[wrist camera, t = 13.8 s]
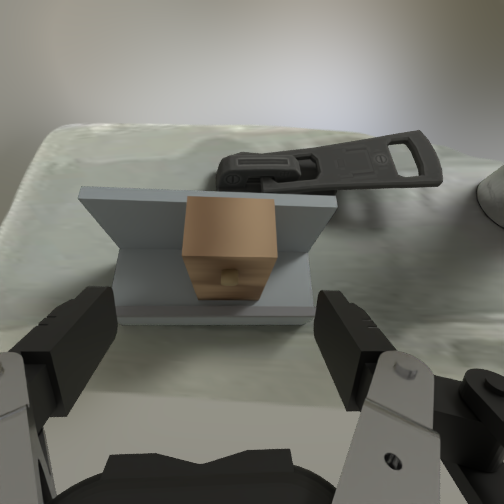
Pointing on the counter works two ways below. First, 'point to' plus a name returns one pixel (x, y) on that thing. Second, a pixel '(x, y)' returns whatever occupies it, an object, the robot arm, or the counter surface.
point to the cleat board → (173, 267)
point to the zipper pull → (330, 168)
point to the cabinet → (229, 246)
